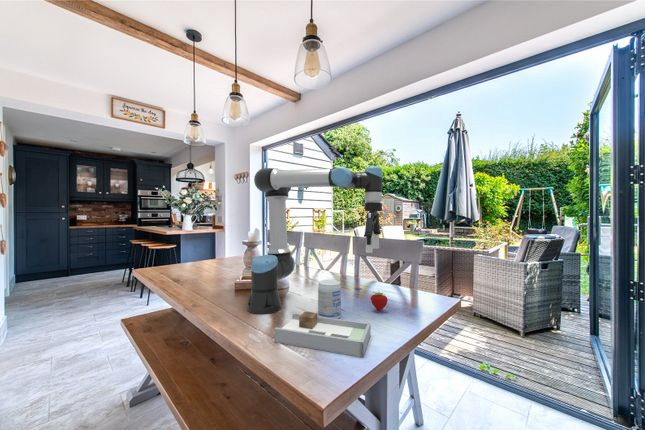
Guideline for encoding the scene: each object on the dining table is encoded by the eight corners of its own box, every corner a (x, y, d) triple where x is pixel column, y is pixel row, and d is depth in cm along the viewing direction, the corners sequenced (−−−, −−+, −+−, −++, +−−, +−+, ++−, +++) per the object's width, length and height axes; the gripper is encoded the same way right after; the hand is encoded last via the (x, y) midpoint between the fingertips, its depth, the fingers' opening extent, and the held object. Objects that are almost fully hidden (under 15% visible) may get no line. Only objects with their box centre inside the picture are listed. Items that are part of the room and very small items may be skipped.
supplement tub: (337, 322, 107) (337, 285, 107) (314, 319, 110) (315, 283, 110) (343, 314, 116) (343, 280, 116) (322, 311, 119) (322, 278, 119)
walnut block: (299, 327, 97) (299, 316, 97) (304, 321, 101) (304, 311, 101) (312, 329, 95) (312, 317, 95) (316, 323, 100) (316, 312, 100)
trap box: (274, 341, 91) (274, 328, 91) (293, 324, 105) (293, 312, 105) (363, 357, 81) (363, 342, 81) (370, 335, 96) (370, 323, 96)
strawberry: (386, 315, 115) (386, 291, 115) (368, 312, 118) (368, 289, 118) (389, 310, 120) (389, 288, 120) (372, 308, 124) (372, 286, 123)
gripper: (376, 201, 105) (375, 255, 106) (386, 203, 128) (386, 247, 129) (357, 201, 108) (356, 253, 109) (371, 203, 131) (370, 246, 132)
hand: (372, 250), depth 119 cm, fingers open, 13 cm apart
